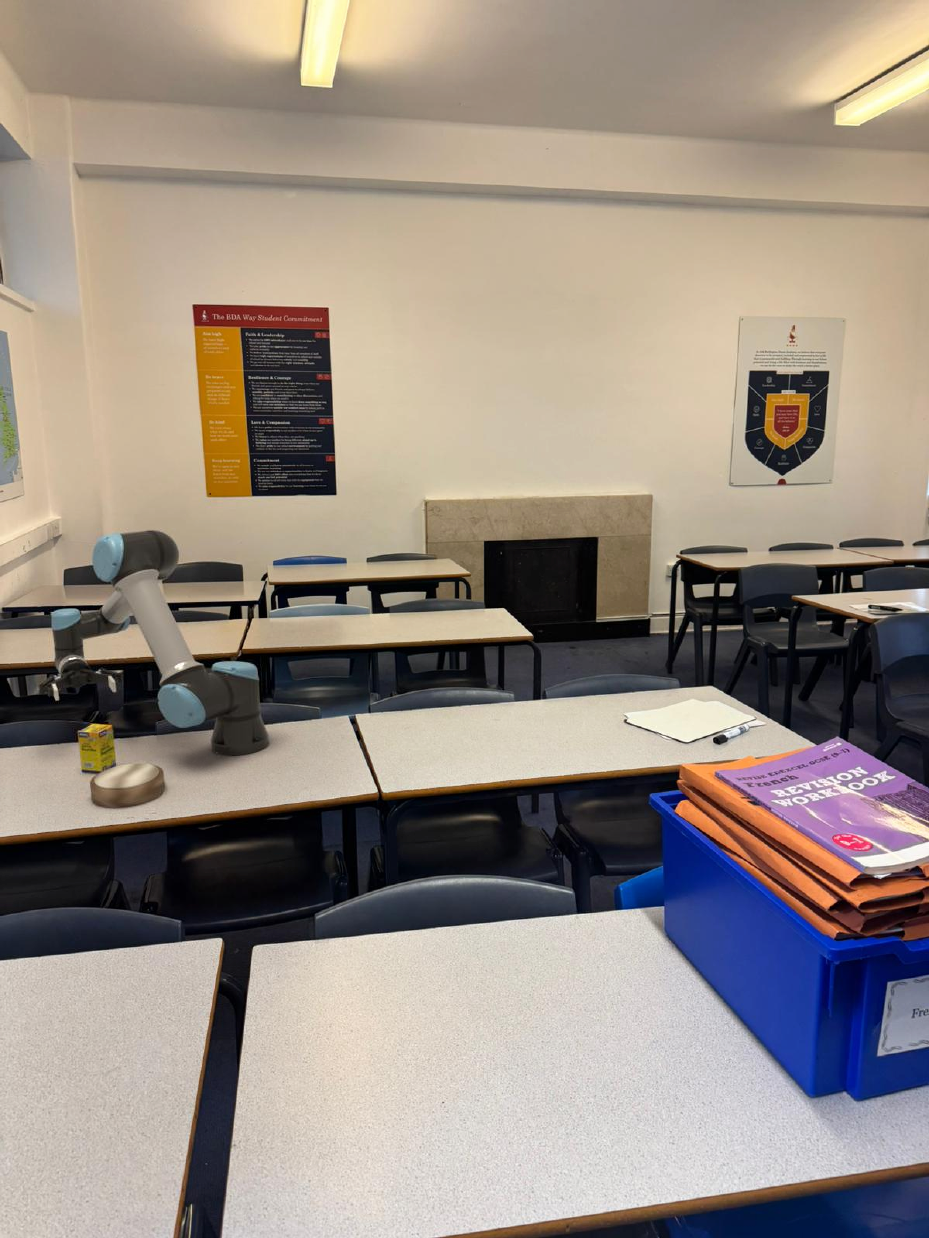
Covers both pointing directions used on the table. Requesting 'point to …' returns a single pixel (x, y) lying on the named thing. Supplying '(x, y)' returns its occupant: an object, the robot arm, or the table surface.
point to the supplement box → (96, 748)
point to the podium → (127, 785)
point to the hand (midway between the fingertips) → (86, 691)
